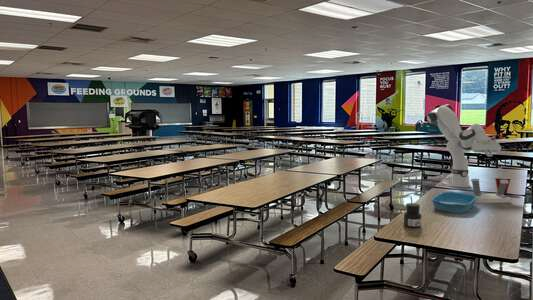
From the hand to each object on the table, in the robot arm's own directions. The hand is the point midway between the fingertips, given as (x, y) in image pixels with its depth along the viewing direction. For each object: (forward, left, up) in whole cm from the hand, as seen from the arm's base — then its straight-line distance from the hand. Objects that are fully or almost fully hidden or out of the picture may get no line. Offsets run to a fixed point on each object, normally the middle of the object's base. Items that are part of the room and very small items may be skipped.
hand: (490, 156), depth 273 cm
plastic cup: (-9, +18, -30) cm, 36 cm away
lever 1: (+12, -17, -25) cm, 33 cm away
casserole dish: (+27, -44, -30) cm, 60 cm away
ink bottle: (+60, -90, -30) cm, 112 cm away
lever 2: (+13, -1, -25) cm, 28 cm away
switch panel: (+12, -9, -29) cm, 33 cm away
